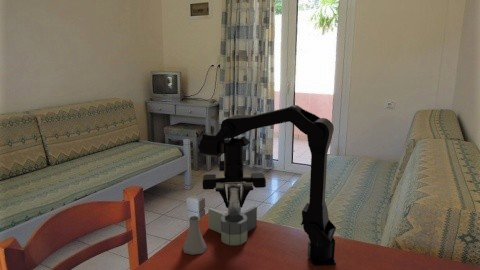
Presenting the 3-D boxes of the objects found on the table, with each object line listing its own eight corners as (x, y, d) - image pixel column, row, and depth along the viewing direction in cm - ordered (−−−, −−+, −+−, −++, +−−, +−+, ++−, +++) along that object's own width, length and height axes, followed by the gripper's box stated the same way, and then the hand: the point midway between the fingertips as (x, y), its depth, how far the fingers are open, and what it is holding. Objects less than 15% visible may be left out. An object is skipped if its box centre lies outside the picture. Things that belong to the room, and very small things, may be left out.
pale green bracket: (252, 237, 111) (252, 217, 110) (235, 248, 105) (235, 226, 104) (218, 223, 121) (218, 204, 119) (201, 232, 115) (200, 212, 113)
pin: (240, 210, 111) (240, 183, 109) (241, 215, 107) (241, 188, 105) (227, 210, 111) (227, 183, 109) (228, 216, 107) (227, 188, 105)
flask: (205, 255, 102) (204, 224, 99) (180, 255, 102) (179, 223, 99) (208, 242, 109) (207, 212, 106) (185, 242, 109) (183, 212, 106)
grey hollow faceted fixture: (235, 248, 105) (235, 226, 104) (216, 239, 110) (215, 218, 109) (265, 229, 116) (265, 210, 115) (246, 222, 121) (246, 203, 120)
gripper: (261, 150, 113) (260, 195, 117) (202, 151, 112) (204, 197, 116) (266, 160, 102) (265, 210, 106) (201, 162, 101) (203, 212, 105)
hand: (234, 207), depth 108 cm, fingers closed on pin, 4 cm apart
